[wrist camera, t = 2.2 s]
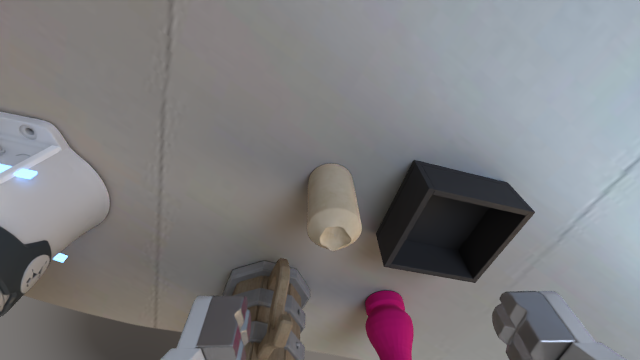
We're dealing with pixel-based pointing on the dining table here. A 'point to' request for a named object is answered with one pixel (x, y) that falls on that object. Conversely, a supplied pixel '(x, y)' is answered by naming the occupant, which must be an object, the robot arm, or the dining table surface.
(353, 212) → the candle
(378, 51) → the dining table surface
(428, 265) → the box
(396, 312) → the pepper mill
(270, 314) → the tankard
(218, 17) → the dining table surface
